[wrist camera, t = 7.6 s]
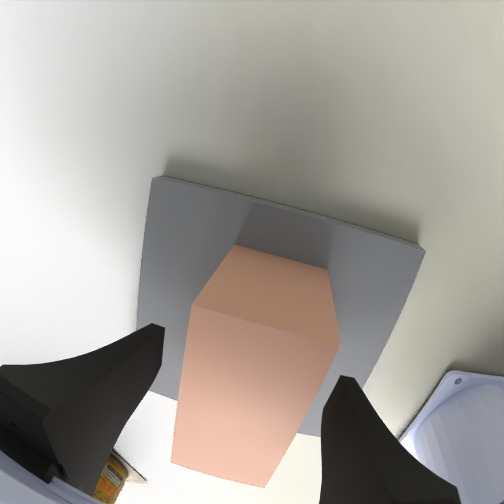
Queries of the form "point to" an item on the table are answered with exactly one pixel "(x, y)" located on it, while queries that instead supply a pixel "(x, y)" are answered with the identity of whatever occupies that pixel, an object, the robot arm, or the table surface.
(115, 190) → the table surface
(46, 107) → the table surface
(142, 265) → the plate
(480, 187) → the table surface
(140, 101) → the table surface
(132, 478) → the condiment
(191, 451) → the block
